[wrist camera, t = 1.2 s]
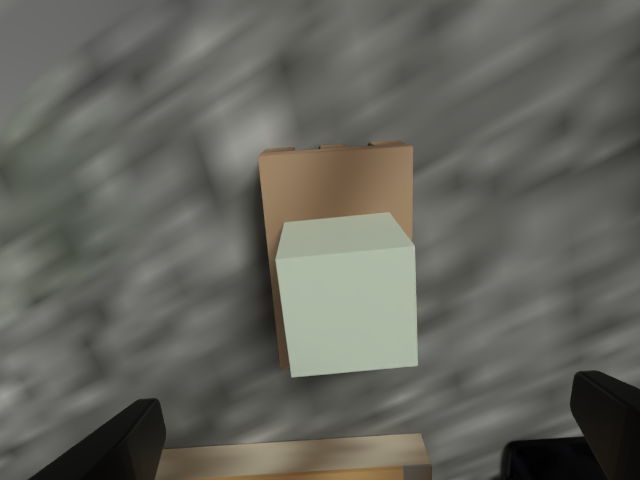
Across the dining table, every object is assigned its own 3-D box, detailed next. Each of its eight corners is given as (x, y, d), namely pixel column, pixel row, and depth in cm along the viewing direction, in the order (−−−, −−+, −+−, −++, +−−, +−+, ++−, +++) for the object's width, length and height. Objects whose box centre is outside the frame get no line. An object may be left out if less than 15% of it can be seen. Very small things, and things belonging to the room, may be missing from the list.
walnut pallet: (396, 140, 18) (412, 146, 15) (397, 325, 20) (410, 361, 18) (266, 148, 18) (257, 156, 15) (284, 332, 20) (280, 369, 18)
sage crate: (389, 212, 15) (414, 245, 12) (393, 306, 17) (418, 365, 13) (284, 222, 16) (275, 259, 12) (296, 316, 17) (291, 377, 13)
